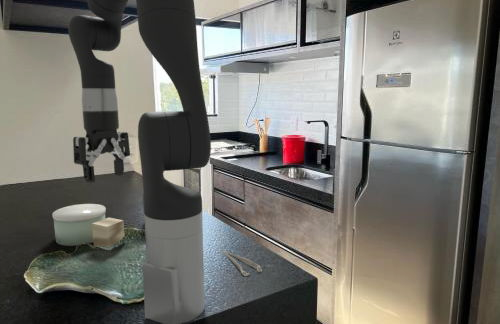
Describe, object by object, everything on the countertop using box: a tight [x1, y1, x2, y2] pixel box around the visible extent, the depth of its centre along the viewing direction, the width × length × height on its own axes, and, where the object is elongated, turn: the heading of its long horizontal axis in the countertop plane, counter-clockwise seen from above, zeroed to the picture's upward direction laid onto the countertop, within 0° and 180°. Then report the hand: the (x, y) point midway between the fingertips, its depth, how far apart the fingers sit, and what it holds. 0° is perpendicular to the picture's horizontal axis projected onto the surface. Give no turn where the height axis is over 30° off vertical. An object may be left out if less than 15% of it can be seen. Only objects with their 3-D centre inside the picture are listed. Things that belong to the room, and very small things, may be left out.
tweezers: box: [220, 249, 263, 277], centre depth 83 cm, size 18×5×2 cm, turn 32°
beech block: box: [92, 217, 125, 248], centre depth 90 cm, size 5×5×6 cm
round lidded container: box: [51, 203, 107, 247], centre depth 96 cm, size 12×12×7 cm
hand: (105, 178), depth 88 cm, fingers open, 8 cm apart
